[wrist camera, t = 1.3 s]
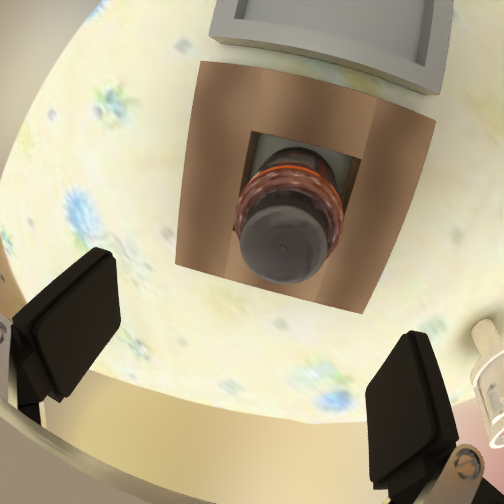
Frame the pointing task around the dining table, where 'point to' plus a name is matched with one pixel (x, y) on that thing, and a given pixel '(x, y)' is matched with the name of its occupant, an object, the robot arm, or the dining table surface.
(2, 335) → the robot arm
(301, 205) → the supplement bottle
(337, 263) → the socket block
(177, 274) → the dining table surface
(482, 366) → the white cylindrical cage holder
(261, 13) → the tray
